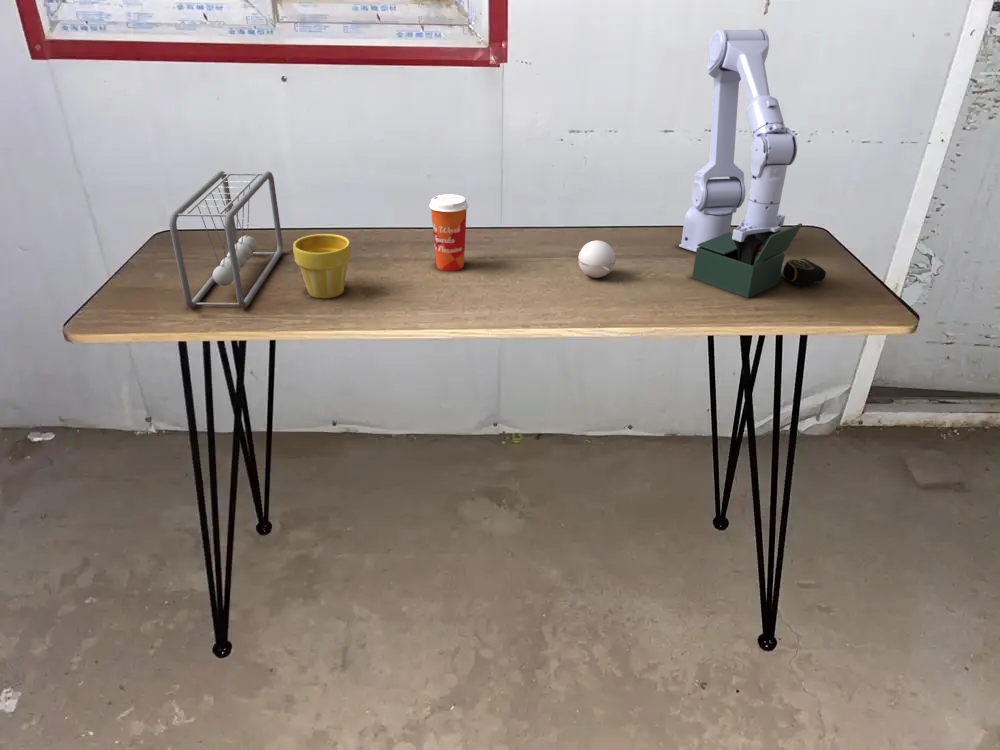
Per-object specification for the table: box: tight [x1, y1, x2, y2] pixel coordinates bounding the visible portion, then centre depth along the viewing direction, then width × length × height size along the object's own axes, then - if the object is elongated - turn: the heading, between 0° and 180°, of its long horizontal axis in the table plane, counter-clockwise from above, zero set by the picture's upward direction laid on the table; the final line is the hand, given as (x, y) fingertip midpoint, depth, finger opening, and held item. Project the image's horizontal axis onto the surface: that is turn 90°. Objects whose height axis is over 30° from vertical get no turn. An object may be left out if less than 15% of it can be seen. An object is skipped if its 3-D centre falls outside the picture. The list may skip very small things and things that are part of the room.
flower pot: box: [292, 233, 352, 299], centre depth 145 cm, size 10×10×10 cm
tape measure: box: [782, 258, 827, 286], centre depth 153 cm, size 7×7×4 cm
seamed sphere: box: [577, 239, 616, 279], centre depth 152 cm, size 10×7×7 cm
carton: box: [691, 231, 785, 299], centre depth 152 cm, size 13×11×7 cm
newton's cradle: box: [168, 170, 284, 309], centre depth 147 cm, size 30×10×18 cm, turn 0°
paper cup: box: [429, 193, 470, 272], centre depth 155 cm, size 8×8×14 cm
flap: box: [754, 223, 803, 264], centre depth 144 cm, size 6×11×1 cm
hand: (751, 268), depth 150 cm, fingers closed on shaker, 4 cm apart
